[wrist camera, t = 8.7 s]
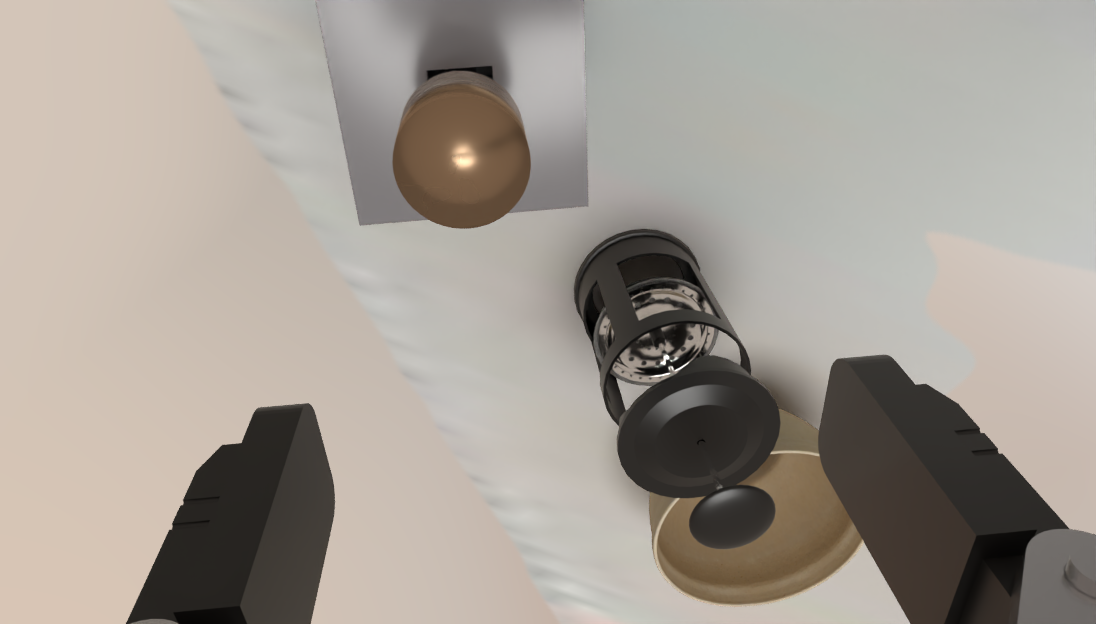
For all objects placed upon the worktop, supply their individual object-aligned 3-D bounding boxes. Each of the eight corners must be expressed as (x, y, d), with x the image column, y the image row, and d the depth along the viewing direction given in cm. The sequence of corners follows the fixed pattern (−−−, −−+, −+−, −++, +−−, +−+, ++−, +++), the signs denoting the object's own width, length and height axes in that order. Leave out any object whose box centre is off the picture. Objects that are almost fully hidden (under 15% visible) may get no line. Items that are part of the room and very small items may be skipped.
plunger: (511, -43, 41) (560, 51, 20) (518, 69, 44) (568, 248, 23) (401, -36, 40) (337, 67, 20) (417, 76, 44) (375, 265, 23)
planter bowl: (650, 351, 58) (686, 444, 48) (841, 367, 60) (909, 458, 51) (608, 501, 66) (632, 606, 56) (778, 510, 68) (827, 611, 59)
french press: (540, 282, 53) (585, 523, 34) (641, 196, 51) (753, 404, 31) (641, 374, 59) (731, 629, 39) (737, 300, 56) (885, 534, 36)
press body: (536, -79, 42) (582, -44, 25) (544, 87, 46) (588, 206, 30) (370, -69, 41) (310, -26, 25) (396, 98, 46) (359, 225, 30)
